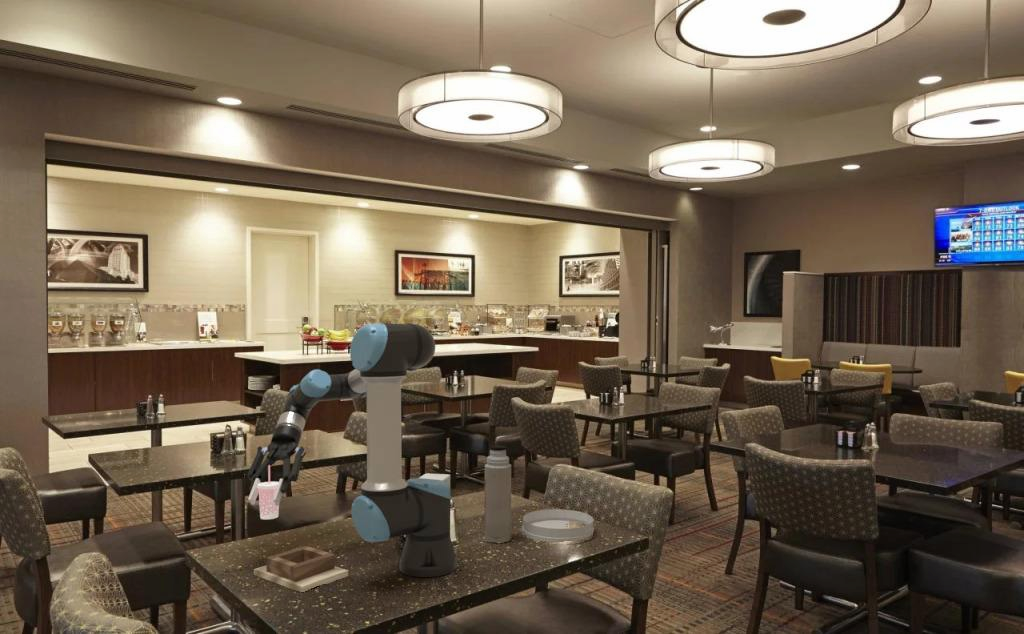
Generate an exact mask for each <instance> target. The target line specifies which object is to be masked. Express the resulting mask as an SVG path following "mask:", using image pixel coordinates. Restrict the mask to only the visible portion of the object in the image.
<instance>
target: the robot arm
mask: <svg viewBox="0 0 1024 634" xmlns="http://www.w3.org/2000/svg"><path fill="white" fill-rule="evenodd" d="M435 353H436V342H435V339H434V336H433V335H432V333H431V332H430V330H428V329H427V328H426V327H424V326H422V325H420V324H417V323H410V322H409V323H388V322H387V323H385V322H384V323H383V322H378V323H376V322H375V323H368V324H367V323H366V324H364V325H363V326H360V327H359V329H358V330H357V331H356V333H355V334H354V335H353V338H352V340H351V344H350V350H349V355H350V361H351V362H352V363H351V364H352V366H353V368H354V369H352V370H351V371H349V372H347V373H342V374H338V373H337V374H329V373H328V372H326V371H323V370H321V369H313V370H310V372H308V373H307V374H306V375H305V376H304V377H303V378H302V379H301V381H300V382H299V383H298V384H296V385H295V384H294V385H292V387H290V390H289V392H288V393H287V396H286V399H285V401H284V404H283V407H282V410H281V413H280V416H279V418H278V420H277V424H276V426H275V428H274V432H273V434H272V437H271V442H270V443H269V445H267V446H265V447H262V446H257V449H256V455H255V458H254V460H253V461H252V462H251V466H250V468H249V470H248V472H247V474H246V475H247V478H248V479H249V481H250V483H251V484H250V485H249V491H250V493H249V496H248V499H247V500H248V502H249V504H250V505H251V506H254V505H255V503H256V500H257V498H258V497H259V490H258V488H257V487H258V486H257V485H258V484H259V483H262V482H261V480H263V478H264V477H265V475H266V474H268V473H267V472H268V465H270V468H271V467H272V466H273V465H275V464H276V462H277V461H281V462H282V463H283V464H282V466H283V467H282V470H283V471H282V473H283V474H282V478H279V481H278V482H279V483H278V486H277V489H276V492H275V495H274V498H273V501H274V503H275V504H276V505H279V506H280V502H281V499H282V497H283V494H286V492H287V490H288V487H289V484H290V483H291V482H294V483H295V482H297V481H298V479H299V476H300V475H299V474H300V471H301V467H302V462H303V459H304V457H305V456H306V454H307V453H306V449H305V448H304V447H303V446H300V447H298V446H299V444H300V440H301V437H302V435H303V432H304V429H305V425H306V423H307V420H308V417H309V414H310V412H311V411H312V409H313V408H314V407H316V405H317V404H318V403H319V402H326V401H337V400H350V399H352V400H353V399H360V398H366V468H367V469H366V472H367V473H366V476H367V477H366V480H365V481H364V482H363V483H362V485H360V486H361V487H360V495H359V496H357V497H355V499H353V502H352V504H351V508H350V509H351V519H352V522H353V526H354V528H355V530H356V531H357V533H358V534H359V536H360V537H361V538H362V539H363V540H364V541H366V542H368V543H379V542H386V541H388V540H390V539H391V540H392V539H396V538H398V537H402V536H405V542H404V545H403V548H402V552H401V553H402V554H401V556H400V558H399V571H400V572H401V573H402V574H404V575H406V576H410V577H416V578H417V577H418V578H434V577H441V576H444V575H447V574H451V573H452V572H454V571H455V570H456V569H457V567H458V558H457V555H456V553H455V550H454V546H453V542H452V537H451V508H452V507H451V500H452V497H451V485H450V486H449V485H448V484H447V483H446V482H444V481H440V480H434V479H424V478H420V477H417V478H409V479H407V480H405V479H404V478H403V475H402V472H403V470H402V467H403V466H402V457H403V456H402V382H403V381H404V380H405V379H406V378H407V376H408V374H407V373H408V372H414V371H418V370H419V369H420V368H423V367H425V366H426V365H427V364H429V363H430V362H431V361H432V359H433V358H434V356H435ZM267 453H268V454H267ZM294 454H295V457H294V459H293V464H292V469H291V457H292V456H294ZM265 457H266V458H265Z"/></svg>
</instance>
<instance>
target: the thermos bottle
mask: <svg viewBox="0 0 1024 634" xmlns="http://www.w3.org/2000/svg"><path fill="white" fill-rule="evenodd" d="M489 449H490V450H489V455H488V456H487V457H486V464H484V541H485V540H486V541H488V542H505V541H508V540H510V539H511V540H512V464H510V457H509V456H508V455H507V446H506V445H502V444H500V445H498V444H497V445H490V447H489ZM486 541H485V542H486ZM488 542H487V543H488Z"/></svg>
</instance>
